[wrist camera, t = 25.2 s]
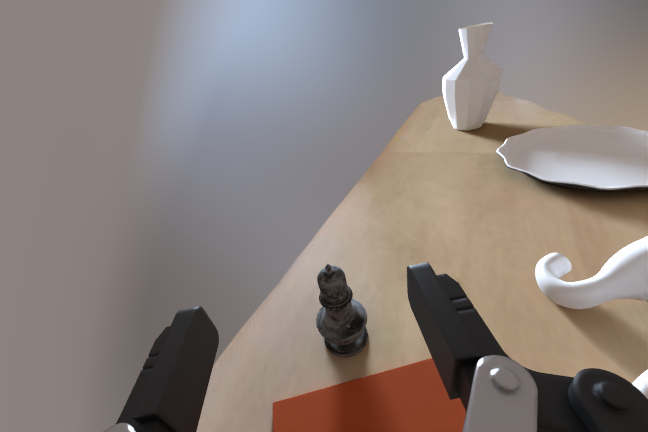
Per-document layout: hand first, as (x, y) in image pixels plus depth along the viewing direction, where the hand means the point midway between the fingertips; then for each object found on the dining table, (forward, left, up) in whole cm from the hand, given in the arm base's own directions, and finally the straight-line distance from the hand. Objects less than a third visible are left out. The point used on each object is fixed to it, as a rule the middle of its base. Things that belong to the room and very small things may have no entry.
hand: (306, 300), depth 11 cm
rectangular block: (+4, +2, -22) cm, 23 cm away
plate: (+65, -14, -23) cm, 70 cm away
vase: (+86, +12, -23) cm, 89 cm away
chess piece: (+10, +8, -23) cm, 26 cm away
